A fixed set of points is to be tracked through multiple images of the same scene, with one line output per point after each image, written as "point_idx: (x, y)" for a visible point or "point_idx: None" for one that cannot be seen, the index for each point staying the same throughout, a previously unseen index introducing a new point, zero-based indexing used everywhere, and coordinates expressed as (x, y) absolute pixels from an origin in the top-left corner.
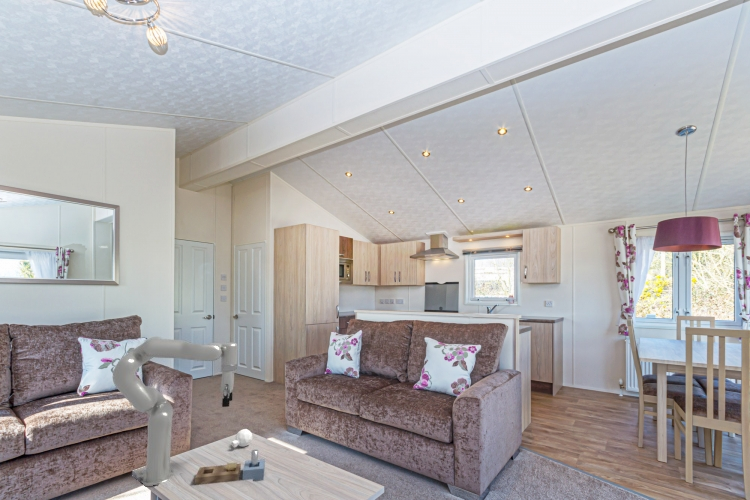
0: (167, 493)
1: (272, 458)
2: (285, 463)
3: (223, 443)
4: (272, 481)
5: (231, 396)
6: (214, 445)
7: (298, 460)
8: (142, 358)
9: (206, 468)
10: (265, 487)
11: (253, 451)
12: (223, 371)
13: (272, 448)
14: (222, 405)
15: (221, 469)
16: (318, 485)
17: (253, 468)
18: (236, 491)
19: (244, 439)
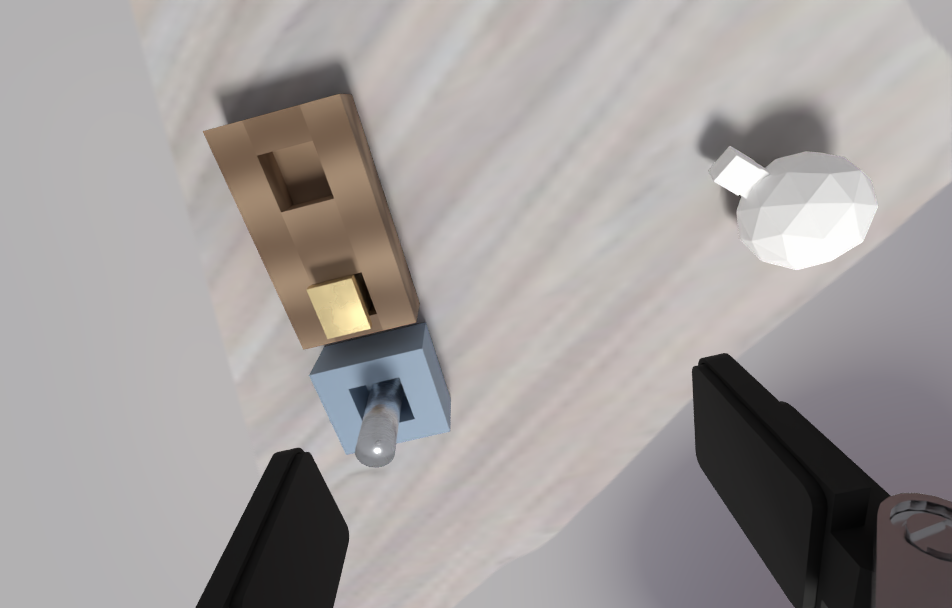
0: None
1: (572, 398)
2: (516, 460)
3: (849, 33)
4: (351, 454)
5: (745, 526)
6: None
7: (544, 498)
8: None
9: (332, 147)
10: (299, 443)
11: (363, 448)
12: None
13: None
14: (268, 472)
15: (332, 247)
16: (344, 587)
17: (339, 413)
18: (242, 349)
19: (750, 235)
